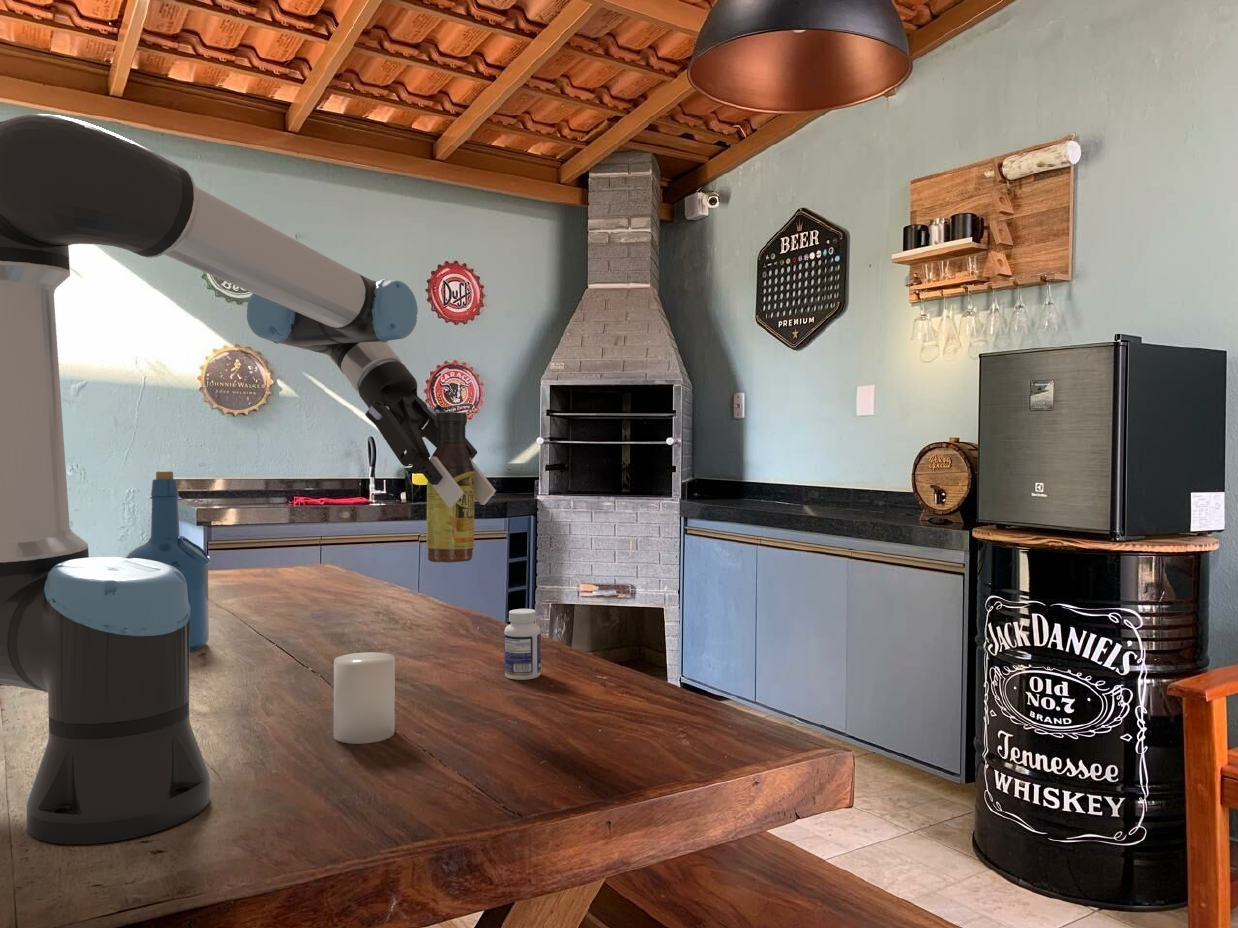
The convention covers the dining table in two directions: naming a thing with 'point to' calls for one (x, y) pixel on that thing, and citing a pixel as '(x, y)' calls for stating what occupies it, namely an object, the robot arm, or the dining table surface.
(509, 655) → the pill bottle
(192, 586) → the wine bottle
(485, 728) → the dining table surface
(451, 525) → the sauce bottle
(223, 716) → the dining table surface
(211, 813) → the dining table surface
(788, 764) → the dining table surface
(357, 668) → the white rounded cylinder
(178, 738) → the robot arm
